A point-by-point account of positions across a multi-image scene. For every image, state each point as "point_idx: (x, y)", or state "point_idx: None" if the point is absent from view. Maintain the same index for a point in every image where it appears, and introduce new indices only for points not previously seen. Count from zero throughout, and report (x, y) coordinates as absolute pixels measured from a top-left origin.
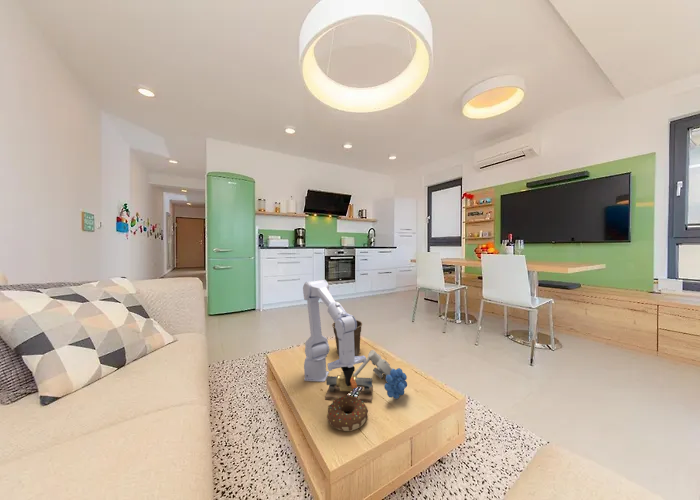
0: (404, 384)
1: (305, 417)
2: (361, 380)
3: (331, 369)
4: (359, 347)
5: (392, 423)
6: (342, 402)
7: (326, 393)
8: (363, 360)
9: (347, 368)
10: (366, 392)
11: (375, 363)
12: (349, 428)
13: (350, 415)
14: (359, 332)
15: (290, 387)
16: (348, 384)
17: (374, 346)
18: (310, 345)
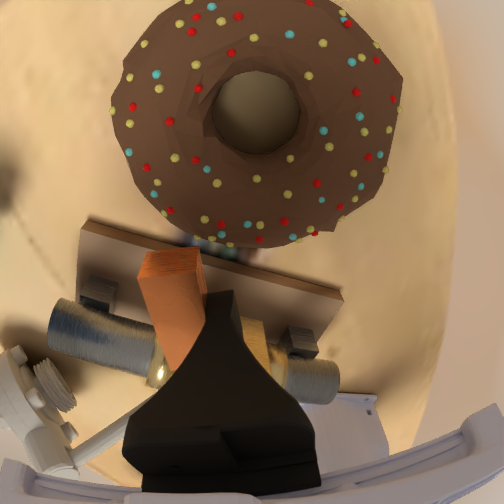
0: None
1: (451, 193)
2: (113, 347)
3: (480, 425)
4: (141, 487)
5: (19, 46)
6: (288, 181)
7: (330, 321)
8: (18, 490)
9: (238, 458)
10: (103, 283)
11: (47, 426)
12: None
13: (261, 15)
14: None
15: (428, 366)
16: (224, 298)
17: (98, 473)
18: None
